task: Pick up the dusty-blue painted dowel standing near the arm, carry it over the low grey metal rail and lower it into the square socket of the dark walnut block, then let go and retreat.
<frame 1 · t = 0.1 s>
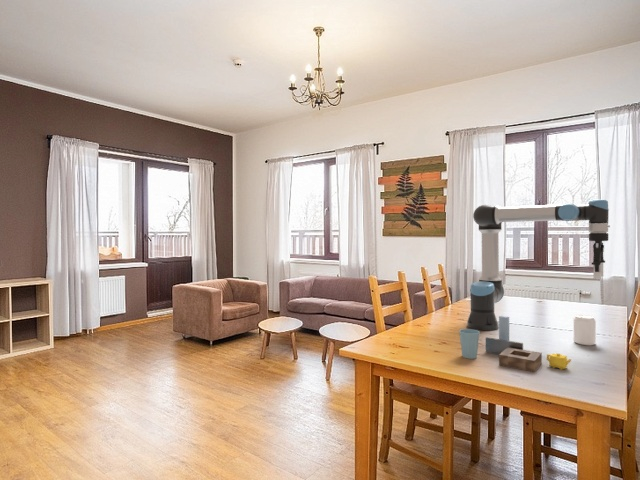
hand: (598, 277, 186), 28 cm above the table, fingers open, 13 cm apart
rail: (503, 354, 160), on the table
teapot: (559, 368, 145), on the table
peg: (504, 349, 168), on the table
socket block: (520, 364, 149), on the table
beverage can: (584, 343, 175), on the table
cup: (469, 357, 159), on the table
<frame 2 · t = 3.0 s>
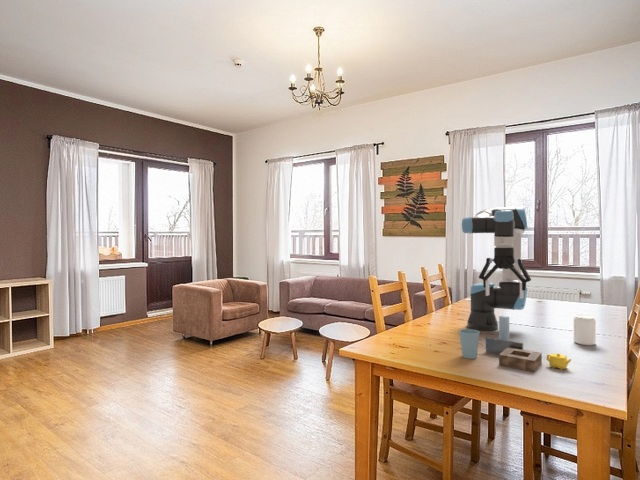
hand: (504, 296, 167), 23 cm above the table, fingers open, 13 cm apart
nothing on the table moved.
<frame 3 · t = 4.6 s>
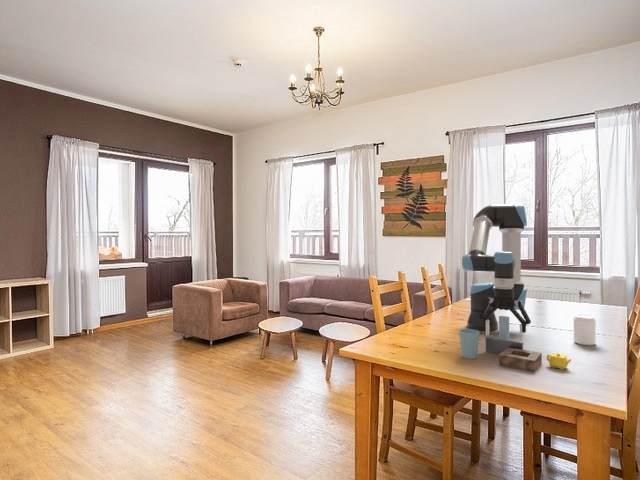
hand: (504, 337, 168), 5 cm above the table, fingers open, 13 cm apart
nothing on the table moved.
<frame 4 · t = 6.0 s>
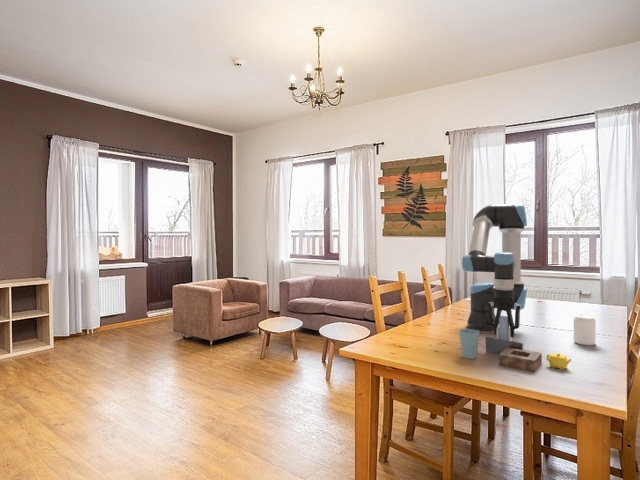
hand: (504, 343, 168), 3 cm above the table, fingers closed on peg, 4 cm apart
peg: (504, 349, 168), on the table, touching gripper
everything else where it was.
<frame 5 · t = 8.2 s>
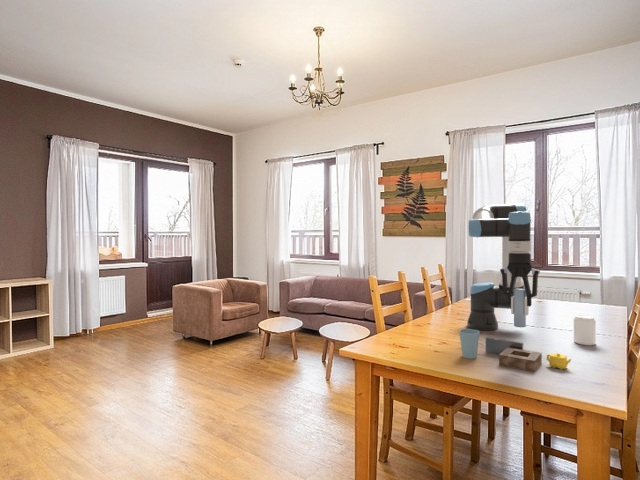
hand: (519, 314, 149), 19 cm above the table, fingers closed on peg, 4 cm apart
peg: (519, 326, 149), point 14 cm above the table, touching gripper
everything else where it was.
when the fingers open (5 cm above the table, at t = 10.6 s): peg stays where it is, resting in socket block.
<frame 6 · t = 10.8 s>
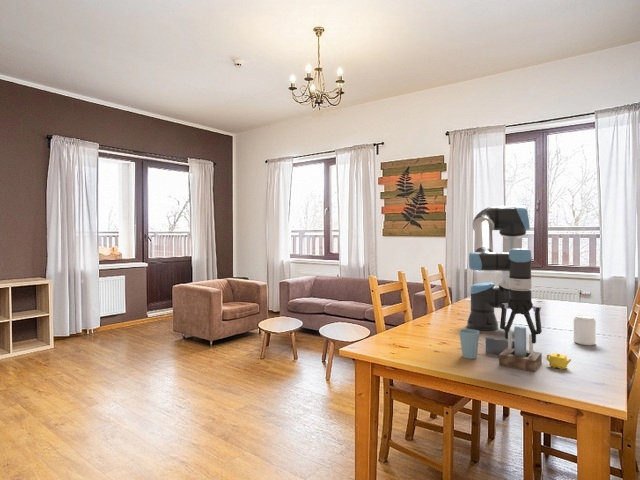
hand: (520, 349, 149), 5 cm above the table, fingers open, 7 cm apart
peg: (520, 364, 149), resting in socket block
everything else where it was.
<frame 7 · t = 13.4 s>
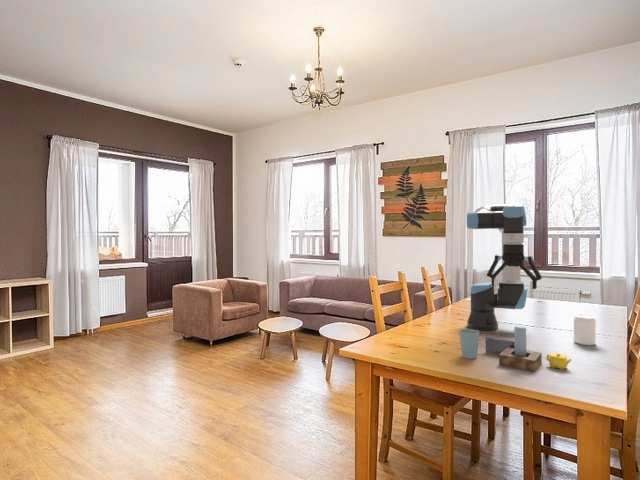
hand: (513, 295, 161), 24 cm above the table, fingers open, 13 cm apart
nothing on the table moved.
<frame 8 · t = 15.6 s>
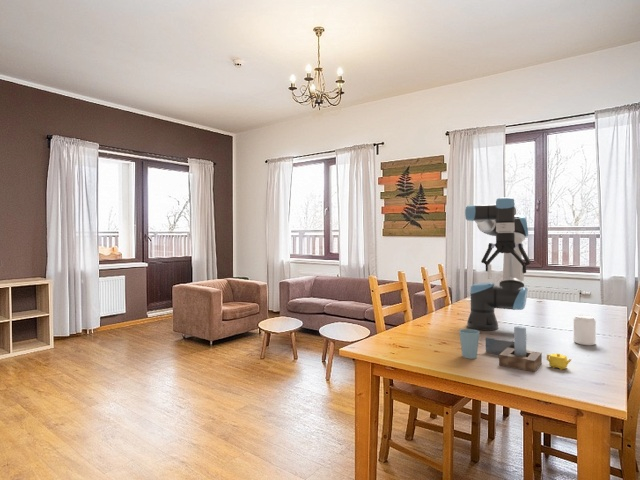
hand: (505, 279, 176), 29 cm above the table, fingers open, 13 cm apart
nothing on the table moved.
at the end: peg 0.1 cm off-centre on the socket block, point 0.0 cm above the socket block's base; peg tilted 0°; the gripper is holding nothing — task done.
